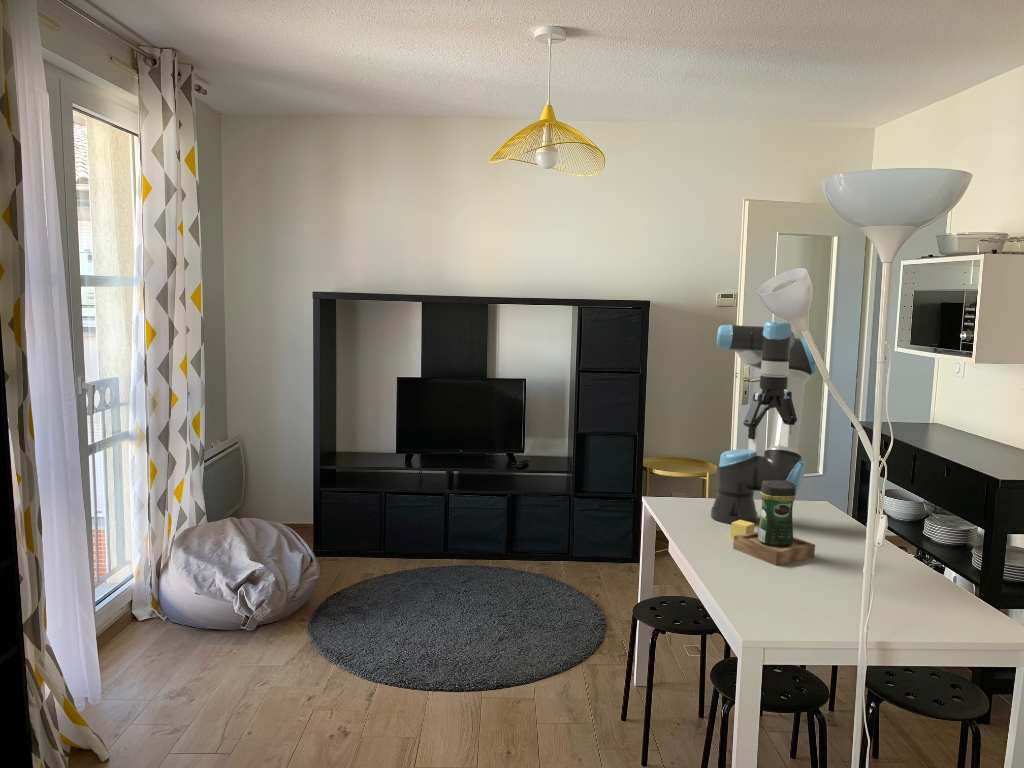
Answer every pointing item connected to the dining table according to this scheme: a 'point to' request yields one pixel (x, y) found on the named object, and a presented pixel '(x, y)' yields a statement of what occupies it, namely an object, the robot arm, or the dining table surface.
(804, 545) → the walnut tray
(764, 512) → the coffee jar
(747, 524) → the mustard cube
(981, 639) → the dining table surface
